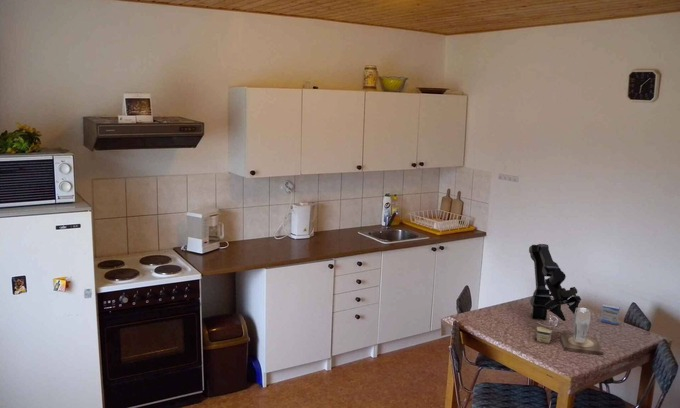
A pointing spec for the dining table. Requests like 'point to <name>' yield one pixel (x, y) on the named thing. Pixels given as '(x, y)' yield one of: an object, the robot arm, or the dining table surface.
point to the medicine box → (610, 314)
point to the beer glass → (581, 324)
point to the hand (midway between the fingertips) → (571, 319)
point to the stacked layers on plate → (543, 334)
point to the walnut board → (581, 345)
